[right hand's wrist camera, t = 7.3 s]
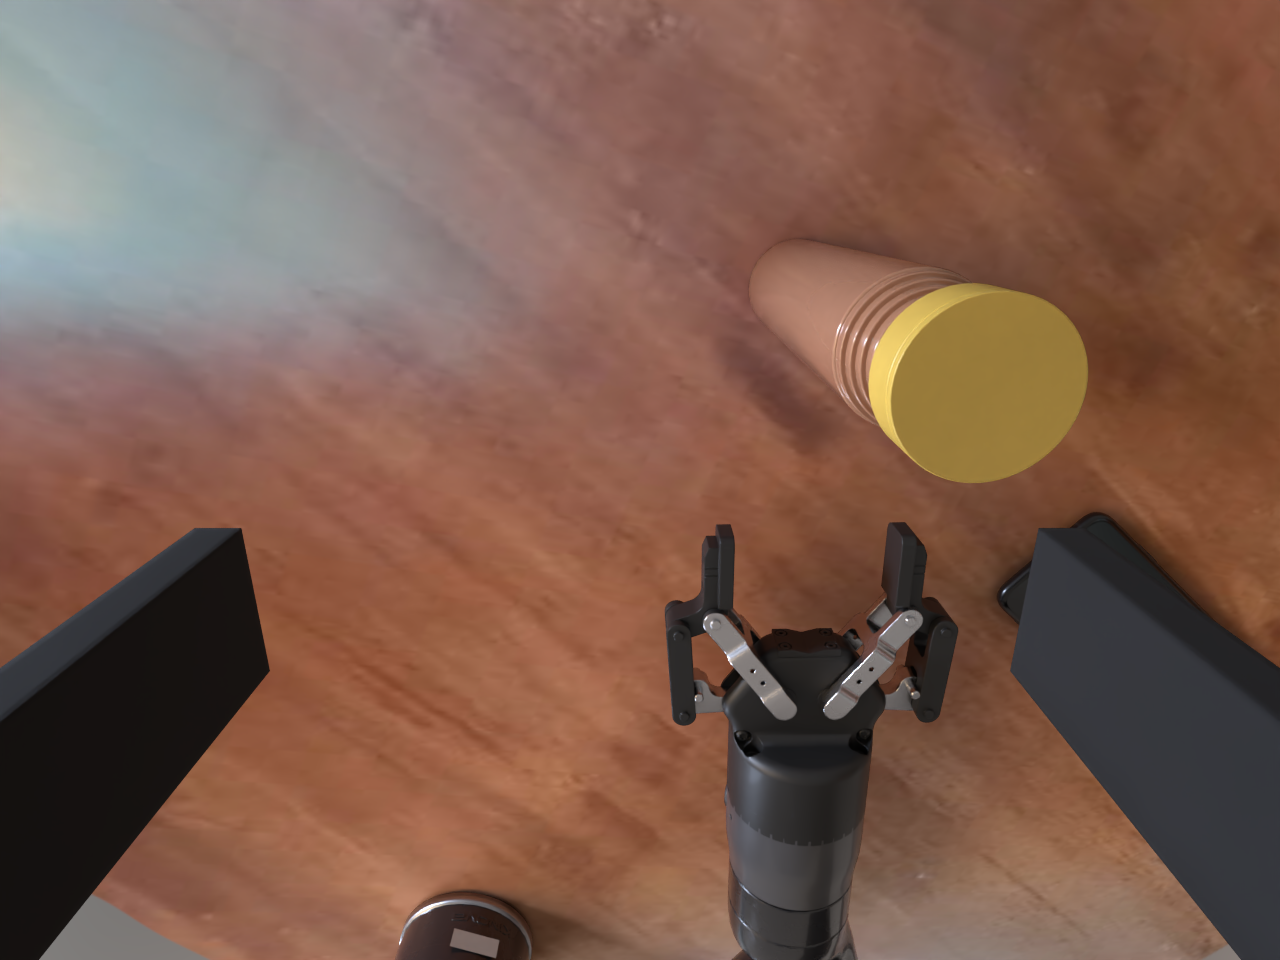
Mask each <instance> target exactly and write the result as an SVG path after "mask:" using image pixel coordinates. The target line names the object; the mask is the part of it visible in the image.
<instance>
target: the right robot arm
mask: <svg viewBox="0 0 1280 960" xmlns="http://www.w3.org/2000/svg"><path fill="white" fill-rule="evenodd" d="M269 671H270V669H269V664H268V659H267V654H266V649H265V644H264V639H263V634H262V629H261V624H260V619H259V614H258V609H257V604H256V599H255V594H254V589H253V584H252V579H251V574H250V569H249V564H248V559H247V554H246V549H245V544H244V539H243V534H242V529H241V528H194V529H193V530H192V531H190V532H189V533H187V534H186V535H185V536H183V537H182V538H180V539H179V540H178V541H176V542H175V543H174V544H172V545H171V546H169V547H168V548H167V549H165V550H164V551H162V552H161V553H160V554H158V555H157V556H155V557H154V558H153V559H151V560H150V561H148V562H147V563H146V564H144V565H143V566H142V567H140V568H139V569H137V570H136V571H135V572H133V573H132V574H130V575H129V576H128V577H126V578H125V579H123V580H122V581H121V582H119V583H118V584H117V585H115V586H114V587H112V588H111V589H110V590H108V591H107V592H105V593H104V594H103V595H101V596H100V597H98V598H97V599H96V600H94V601H93V602H91V603H90V604H89V605H87V606H86V607H85V608H83V609H82V610H80V611H79V612H78V613H76V614H75V615H73V616H72V617H71V618H69V619H68V620H66V621H65V622H64V623H62V624H61V625H60V626H58V627H57V628H55V629H54V630H53V631H51V632H50V633H48V634H47V635H46V636H44V637H43V638H41V639H40V640H39V641H37V642H36V643H35V644H33V645H32V646H30V647H29V648H28V649H26V650H25V651H23V652H22V653H21V654H19V655H18V656H16V657H15V658H14V659H12V660H11V661H9V662H8V663H7V664H5V665H4V666H3V667H1V668H0V960H39V959H40V958H41V956H42V955H43V954H44V953H45V951H46V950H47V949H48V948H49V946H50V945H51V944H52V943H53V941H54V940H55V939H56V938H57V936H58V935H59V934H60V933H61V931H62V930H63V929H64V928H65V926H66V925H67V924H68V923H69V921H70V920H71V919H72V918H73V916H74V915H75V914H76V913H77V911H78V910H79V909H80V908H81V906H82V905H83V904H84V903H85V901H86V900H87V899H88V898H89V896H90V895H91V894H92V893H93V891H94V890H95V889H96V888H97V886H98V885H99V884H100V883H101V881H102V880H103V879H104V878H105V876H106V875H107V874H108V873H109V871H110V870H111V869H112V868H113V866H114V865H115V864H116V863H117V861H118V860H119V859H120V858H121V856H122V855H123V854H124V853H125V851H126V850H127V849H128V848H129V846H130V845H131V844H132V843H133V841H134V840H135V839H136V838H137V836H138V835H139V834H140V833H141V831H142V830H143V829H144V828H145V826H146V825H147V824H148V823H149V821H150V820H151V819H152V818H153V816H154V815H155V814H156V813H157V811H158V810H159V809H160V808H161V806H162V805H163V804H164V803H165V801H166V800H167V799H168V798H169V796H170V795H171V794H172V793H173V791H174V790H175V789H176V788H177V786H178V785H179V784H180V783H181V781H182V780H183V779H184V778H185V776H186V775H187V774H188V773H189V771H190V770H191V769H192V768H193V766H194V765H195V764H196V763H197V761H198V760H199V759H200V758H201V756H202V755H203V754H204V753H205V751H206V750H207V749H208V748H209V746H210V745H211V744H212V743H213V741H214V740H215V739H216V738H217V736H218V735H219V734H220V733H221V731H222V730H223V729H224V728H225V726H226V725H227V724H228V723H229V721H230V720H231V719H232V718H233V716H234V715H235V714H236V713H237V711H238V710H239V709H240V708H241V706H242V705H243V704H244V703H245V701H246V700H247V699H248V698H249V696H250V695H251V694H252V693H253V691H254V690H255V689H256V688H257V686H258V685H259V684H260V683H261V681H262V680H263V679H264V678H265V676H266V675H267V674H268V672H269ZM1010 671H1011V672H1012V674H1013V675H1014V676H1015V677H1016V679H1017V680H1018V681H1019V683H1020V684H1021V685H1022V686H1023V688H1024V689H1025V690H1026V691H1027V693H1028V694H1029V695H1030V696H1031V698H1032V699H1033V700H1034V701H1035V703H1036V704H1037V705H1038V706H1039V708H1040V709H1041V710H1042V711H1043V713H1044V714H1045V715H1046V716H1047V718H1048V719H1049V720H1050V721H1051V723H1052V724H1053V725H1054V726H1055V728H1056V729H1057V730H1058V731H1059V733H1060V734H1061V735H1062V736H1063V738H1064V739H1065V740H1066V741H1067V743H1068V744H1069V745H1070V746H1071V748H1072V749H1073V750H1074V751H1075V753H1076V754H1077V755H1078V756H1079V758H1080V759H1081V760H1082V761H1083V763H1084V764H1085V765H1086V766H1087V768H1088V769H1089V770H1090V771H1091V773H1092V774H1093V775H1094V776H1095V778H1096V779H1097V780H1098V781H1099V783H1100V784H1101V785H1102V786H1103V788H1104V789H1105V790H1106V791H1107V793H1108V794H1109V795H1110V796H1111V798H1112V799H1113V800H1114V801H1115V803H1116V804H1117V805H1118V806H1119V808H1120V809H1121V810H1122V811H1123V813H1124V814H1125V815H1126V816H1127V818H1128V819H1129V820H1130V821H1131V823H1132V824H1133V825H1134V826H1135V828H1136V829H1137V830H1138V831H1139V833H1140V834H1141V835H1142V836H1143V838H1144V839H1145V840H1146V841H1147V843H1148V844H1149V845H1150V846H1151V848H1152V849H1153V850H1154V851H1155V853H1156V854H1157V855H1158V856H1159V858H1160V859H1161V860H1162V861H1163V863H1164V864H1165V865H1166V866H1167V868H1168V869H1169V870H1170V871H1171V873H1172V874H1173V875H1174V876H1175V878H1176V879H1177V880H1178V881H1179V883H1180V884H1181V885H1182V886H1183V888H1184V889H1185V890H1186V891H1187V893H1188V894H1189V895H1190V896H1191V898H1192V899H1193V900H1194V901H1195V903H1196V904H1197V905H1198V906H1199V908H1200V909H1201V910H1202V911H1203V913H1204V914H1205V915H1206V916H1207V918H1208V919H1209V920H1210V921H1211V923H1212V924H1213V925H1214V926H1215V928H1216V929H1217V930H1218V931H1219V933H1220V934H1221V935H1222V936H1223V938H1224V939H1225V940H1226V941H1227V943H1228V944H1229V945H1230V946H1231V948H1232V949H1233V950H1234V951H1235V953H1236V954H1237V955H1238V956H1239V958H1240V959H1241V960H1280V668H1279V667H1277V666H1276V665H1275V664H1273V663H1272V662H1271V661H1269V660H1268V659H1266V658H1265V657H1264V656H1262V655H1261V654H1259V653H1258V652H1257V651H1255V650H1254V649H1252V648H1251V647H1250V646H1248V645H1247V644H1245V643H1244V642H1243V641H1241V640H1240V639H1239V638H1237V637H1236V636H1234V635H1233V634H1232V633H1230V632H1229V631H1227V630H1226V629H1225V628H1223V627H1222V626H1220V625H1219V624H1218V623H1216V622H1215V621H1214V620H1212V619H1211V618H1209V617H1208V616H1207V615H1205V614H1204V613H1202V612H1201V611H1200V610H1198V609H1197V608H1195V607H1194V606H1193V605H1191V604H1190V603H1189V602H1187V601H1186V600H1184V599H1183V598H1182V597H1180V596H1179V595H1177V594H1176V593H1175V592H1173V591H1172V590H1170V589H1169V588H1168V587H1166V586H1165V585H1163V584H1162V583H1161V582H1159V581H1158V580H1157V579H1155V578H1154V577H1152V576H1151V575H1150V574H1148V573H1147V572H1145V571H1144V570H1143V569H1141V568H1140V567H1138V566H1137V565H1136V564H1134V563H1133V562H1132V561H1130V560H1129V559H1127V558H1126V557H1125V556H1123V555H1122V554H1120V553H1119V552H1118V551H1116V550H1115V549H1113V548H1112V547H1111V546H1109V545H1108V544H1107V543H1105V542H1104V541H1102V540H1101V539H1100V538H1098V537H1097V536H1095V535H1094V534H1093V533H1091V532H1090V531H1088V530H1087V529H1086V528H1039V529H1038V534H1037V539H1036V544H1035V549H1034V554H1033V559H1032V564H1031V569H1030V574H1029V579H1028V584H1027V589H1026V594H1025V599H1024V604H1023V609H1022V614H1021V619H1020V624H1019V629H1018V634H1017V639H1016V644H1015V649H1014V654H1013V659H1012V664H1011V669H1010Z"/></svg>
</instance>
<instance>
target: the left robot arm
mask: <svg viewBox="0 0 1280 960" xmlns="http://www.w3.org/2000/svg"><path fill="white" fill-rule="evenodd" d="M734 554H735V542H734V535H733V531H732V528H731V525H730V524H722V525H716V536H706V537H705V540H704V542H703V544H702V581H701V591H700V593H699V595H698V596H697V597H696V598H694V599H692V600H690V601H687V602H682V601H678V600H675V601H671V602H669V603H668V604H667V605H666V607H665V621H666V637H667V650H668V664H669V677H670V690H671V703H672V717H673V720H674V721H675V722H676V723H677V724H679V725H689V724H691V723H693V722H694V720H695V718H696V713H710V712H724V713H725V715H726V716H727V718H728V720H729V732H728V766H727V785H726V789H725V799H724V801H725V805H726V830H727V837H728V844H729V876H728V910H729V918H730V924H731V928H732V930H733V933H734V936H735V938H736V940H737V942H738V944H739V945H740V947H741V948H742V951H741V952H740V953H739V954H737V955H736V956H735V957H734V958H733V959H732V960H858V957H857V953H856V949H855V945H854V940H853V936H852V932H851V929H850V926H849V922H848V913H849V904H850V895H851V886H852V876H853V871H854V868H855V865H856V862H857V859H858V855H859V851H860V846H861V840H862V832H863V823H864V814H865V805H866V796H867V788H868V779H869V770H870V761H871V752H872V740H873V727H874V724H875V722H876V721H877V719H878V718H879V716H880V715H881V714H882V713H883V711H884V709H887V710H913V711H914V712H915V714H916V716H917V718H918V719H919V720H920V721H922V722H932V721H934V720H936V719H937V718H938V717H939V715H940V711H941V706H942V702H943V698H944V693H945V689H946V684H947V680H948V675H949V671H950V666H951V662H952V657H953V653H954V648H955V644H956V639H957V635H958V627H957V626H956V624H955V623H954V622H953V620H952V619H951V618H950V616H949V615H948V614H947V612H946V611H945V610H944V608H943V607H942V606H941V604H940V603H939V602H938V600H937V599H935V598H933V597H926V598H922V591H923V583H924V575H925V574H924V573H925V568H926V567H925V565H926V560H927V553H926V550H925V547H924V545H923V544H922V542H921V541H920V540H919V539H918V538H917V536H916V535H915V534H914V532H913V531H912V530H911V529H910V528H909V526H908V525H907V524H906V523H905V522H892V523H889V524H888V529H887V538H886V547H885V557H884V566H883V575H882V584H881V586H882V588H883V589H884V591H885V592H884V593H883V594H882V595H881V596H880V597H879V598H878V600H877V601H876V602H875V603H874V604H873V605H872V606H871V607H870V608H869V609H868V610H867V611H866V612H865V613H858V614H856V615H855V616H854V617H853V618H852V619H851V620H850V621H849V622H848V623H847V624H846V625H845V626H844V627H843V628H842V629H841V631H840V632H839V633H838V634H836V633H833V631H832V628H816V629H812V630H808V631H804V632H798V631H794V630H789V629H772V634H769V635H766V636H764V637H762V638H761V637H760V636H759V635H758V633H757V632H756V631H755V630H754V629H753V627H752V626H751V625H750V624H749V623H748V622H747V620H746V619H745V618H744V617H743V616H742V615H739V614H738V613H737V612H736V611H735V610H734V608H733V587H734ZM706 632H707V633H708V634H709V635H710V636H711V637H712V639H713V640H714V641H715V642H716V643H717V644H718V645H719V647H720V648H721V649H722V650H723V651H724V652H725V654H726V656H727V658H728V660H729V661H730V663H731V665H732V666H733V667H734V669H733V670H732V671H731V672H730V673H729V674H728V675H727V677H726V678H725V679H724V680H723V682H722V684H721V687H717V686H714V685H712V684H711V683H710V682H709V680H708V677H707V675H706V673H705V672H703V671H701V670H700V669H698V668H693V660H692V644H691V637H694V636H697V635H700V634H703V633H706ZM909 638H910V642H909V647H908V652H907V657H906V662H905V666H904V665H899V666H897V668H896V672H895V674H894V677H893V679H892V680H891V681H890V682H888V683H886V684H879V682H878V680H877V679H878V678H879V677H880V676H881V675H882V674H883V673H884V672H885V671H886V670H887V669H888V668H889V667H890V666H891V665H892V664H893V662H894V660H895V657H896V652H897V650H898V649H899V648H900V647H901V646H902V645H903V644H904V643H905V642H906V641H907V640H908V639H909ZM862 645H864V651H863V653H862V655H861V656H859V654H858V653H857V652H856V651H857V650H858V649H859V648H860V647H861V646H862ZM532 946H533V940H532V934H531V931H530V928H529V926H528V924H527V923H526V921H525V920H524V918H523V917H522V916H521V915H520V914H519V913H518V912H517V911H516V910H515V909H513V908H512V907H511V906H509V905H508V904H506V903H504V902H502V901H500V900H498V899H496V898H493V897H490V896H486V895H483V894H478V893H469V892H457V893H448V894H443V895H439V896H436V897H433V898H431V899H429V900H427V901H425V902H423V903H422V904H420V905H419V906H418V907H417V908H416V909H414V910H413V912H412V913H411V914H410V915H409V917H408V918H407V920H406V923H405V925H404V928H403V931H402V934H401V938H400V944H399V948H398V951H397V954H396V958H395V960H531V953H532Z"/></svg>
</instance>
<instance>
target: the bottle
mask: <svg viewBox="0 0 1280 960" xmlns="http://www.w3.org/2000/svg"><path fill="white" fill-rule="evenodd" d="M964 283H972V282H970V281H969V280H968V279H966V278H965V277H963V276H961V275H960V274H957V273H955V272H953V271H950V270H947V269H943V268H939V267H934V266H929V265H925V264H920V263H915V262H910V261H906V260H901V259H896V258H892V257H887V256H882V255H878V254H873V253H868V252H863V251H859V250H854V249H849V248H845V247H840V246H835V245H831V244H826V243H821V242H816V241H812V240H807V239H792V240H787V241H784V242H781V243H779V244H777V245H775V246H773V247H772V248H770V249H769V250H768V251H767V252H765V253H764V255H763V256H762V257H761V258H760V259H759V261H758V262H757V264H756V265H755V267H754V269H753V272H752V274H751V278H750V283H749V298H750V302H751V306H752V308H753V311H754V312H755V314H756V316H757V317H758V319H759V320H760V321H761V322H762V323H763V324H764V325H765V326H766V327H767V328H768V329H769V330H770V331H771V332H772V333H773V334H774V335H775V336H776V337H778V338H779V339H780V340H781V341H782V342H783V343H784V344H785V345H786V346H787V347H788V348H789V349H790V350H791V351H792V352H793V353H794V354H795V355H796V356H797V357H798V358H799V359H800V360H801V361H802V362H803V363H804V364H805V365H806V366H808V367H809V368H810V369H811V370H812V371H813V372H814V373H815V374H816V375H817V376H818V377H819V378H820V379H821V380H822V381H823V382H824V383H825V384H826V385H827V386H828V387H829V388H830V389H831V390H832V391H833V392H834V393H835V394H836V395H837V396H839V397H840V398H841V399H842V400H843V401H844V402H845V403H846V404H847V405H848V406H849V407H850V408H851V409H852V410H853V411H854V412H855V413H856V414H858V415H859V416H860V417H862V418H863V419H865V420H866V421H868V422H870V423H872V424H875V425H877V426H879V427H880V425H879V423H878V421H877V419H876V418H875V415H874V412H873V410H872V407H871V402H870V397H869V372H870V367H871V362H872V359H873V356H874V353H875V350H876V348H877V346H878V344H879V342H880V340H881V338H882V336H883V335H884V333H885V332H886V330H887V329H888V327H889V326H890V325H891V324H892V322H893V321H894V320H895V319H896V318H897V317H898V316H899V315H900V314H901V313H902V312H903V311H904V310H905V309H906V308H907V307H909V306H910V305H911V304H913V303H914V302H915V301H917V300H918V299H920V298H922V297H924V296H925V295H927V294H929V293H931V292H934V291H936V290H938V289H941V288H945V287H948V286H952V285H958V284H964Z"/></svg>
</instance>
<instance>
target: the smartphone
mask: <svg viewBox="0 0 1280 960" xmlns="http://www.w3.org/2000/svg"><path fill="white" fill-rule="evenodd" d="M1071 528H1086V529H1087V530H1088V531H1090V532H1091V533H1093V534H1094V535H1095V536H1097V537H1098V538H1100V539H1101V540H1102V541H1104V542H1105V543H1107V544H1108V545H1109V546H1111V547H1112V548H1113V549H1115V550H1116V551H1118V552H1119V553H1120V554H1122V555H1123V556H1125V557H1126V558H1127V559H1129V560H1130V561H1132V562H1133V563H1134V564H1136V565H1137V566H1138V567H1140V568H1141V569H1143V570H1144V571H1145V572H1147V573H1148V574H1150V575H1151V576H1152V577H1154V578H1155V579H1157V580H1158V581H1159V582H1161V583H1162V584H1163V585H1165V586H1166V587H1168V588H1169V589H1170V590H1172V591H1173V592H1175V593H1176V594H1177V595H1179V596H1180V597H1182V598H1183V599H1184V600H1186V601H1187V602H1189V603H1190V604H1191V605H1193V606H1194V607H1195V608H1197V609H1198V610H1200V611H1201V612H1202V613H1204V614H1205V615H1207V616H1208V617H1209V618H1211V617H1210V616H1209V615H1208V614H1207V613H1206V612H1205V611H1204V610H1203V609H1202V608H1201V607H1200V606H1199V605H1198V604H1197V603H1196V602H1195V601H1194V600H1193V598H1191V596H1189V594H1188V593H1187V592H1186V591H1185V590H1184V589H1183V588H1182V587H1181V586H1180V585H1179V584H1178V583H1177V582H1176V581H1175V580H1174V579H1173V578H1172V577H1171V576H1170V575H1169V574H1168V573H1167V572H1166V571H1165V570H1164V569H1163V568H1162V567H1161V566H1160V565H1159V564H1158V563H1157V561H1156V560H1155V559H1154V558H1153V557H1152V556H1151V555H1150V554H1149V553H1148V552H1147V551H1146V550H1145V549H1144V548H1143V547H1142V546H1141V545H1139V544H1138V543H1137V542H1136V541H1135V540H1134V539H1133V538H1132V537H1131V536H1130V535H1129V534H1128V533H1127V532H1126V531H1125V530H1124V529H1123V528H1122V527H1121V526H1120V525H1119V524H1118V523H1117V522H1116V521H1115V520H1114V519H1113V518H1111V517H1110V516H1108V515H1107V514H1104V513H1101V512H1094V513H1090V514H1088V515H1086V516H1084V517H1083V518H1081V519H1080V520H1079V521H1078V522H1077V523H1075V524H1074V525H1073V526H1072V527H1071ZM1031 564H1032V561H1030V562H1029V563H1028V564H1027V565H1026V566H1025V567H1023V568H1022V569H1021V570H1020V571H1019V572H1017V573H1016V574H1015V575H1014V576H1013V577H1012V578H1010V579H1009V580H1008V581H1007V582H1006V583H1005V584H1004V585H1003V586H1002V587H1001V588H1000V590H999V592H998V594H997V600H998V603H999V605H1000V606H1001V608H1002V609H1003V610H1004V611H1005V612H1006V613H1007V614H1008V615H1009V616H1011V617H1012V618H1013V619H1014V621H1015V622H1016V623H1018V624H1020V619H1021V614H1022V609H1023V604H1024V599H1025V594H1026V589H1027V584H1028V579H1029V574H1030V569H1031ZM1211 619H1212V618H1211ZM1212 620H1213V619H1212Z"/></svg>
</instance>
